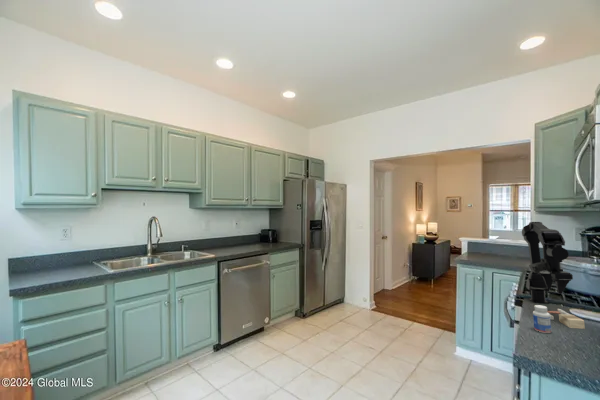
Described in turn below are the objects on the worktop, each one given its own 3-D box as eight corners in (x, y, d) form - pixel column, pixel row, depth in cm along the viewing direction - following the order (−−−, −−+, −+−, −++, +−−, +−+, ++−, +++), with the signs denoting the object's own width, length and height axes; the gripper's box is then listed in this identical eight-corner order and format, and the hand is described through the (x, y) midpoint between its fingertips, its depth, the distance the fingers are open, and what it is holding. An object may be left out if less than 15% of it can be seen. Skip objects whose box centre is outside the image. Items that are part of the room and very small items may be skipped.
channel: (537, 310, 136) (537, 307, 136) (560, 312, 134) (559, 308, 134) (551, 319, 125) (550, 316, 125) (576, 321, 122) (575, 317, 122)
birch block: (559, 322, 122) (558, 314, 123) (573, 323, 121) (572, 314, 121) (570, 328, 116) (569, 319, 116) (584, 329, 114) (584, 320, 115)
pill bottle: (534, 327, 117) (532, 303, 118) (551, 330, 114) (549, 305, 115) (534, 331, 113) (532, 307, 114) (552, 334, 110) (549, 309, 110)
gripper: (521, 254, 142) (524, 285, 141) (540, 259, 124) (543, 295, 123) (548, 254, 138) (551, 286, 137) (572, 260, 121) (575, 296, 120)
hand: (554, 290), depth 129 cm, fingers open, 9 cm apart
